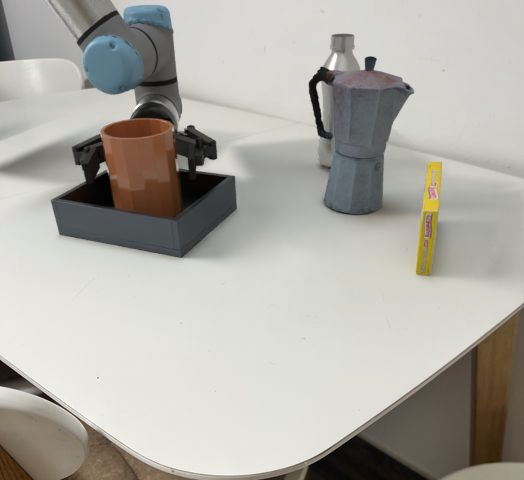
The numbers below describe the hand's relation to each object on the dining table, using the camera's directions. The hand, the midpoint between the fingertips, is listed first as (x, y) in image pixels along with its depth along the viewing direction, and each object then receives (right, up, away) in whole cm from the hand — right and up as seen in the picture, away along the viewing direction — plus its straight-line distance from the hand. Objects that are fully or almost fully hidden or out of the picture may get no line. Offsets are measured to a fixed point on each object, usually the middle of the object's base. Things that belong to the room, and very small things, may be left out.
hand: (139, 171), depth 74 cm
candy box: (+37, -10, 0) cm, 39 cm away
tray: (0, -5, +8) cm, 9 cm away
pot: (0, -4, +7) cm, 8 cm away
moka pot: (+29, -1, +11) cm, 31 cm away
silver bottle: (+29, +8, +24) cm, 39 cm away
